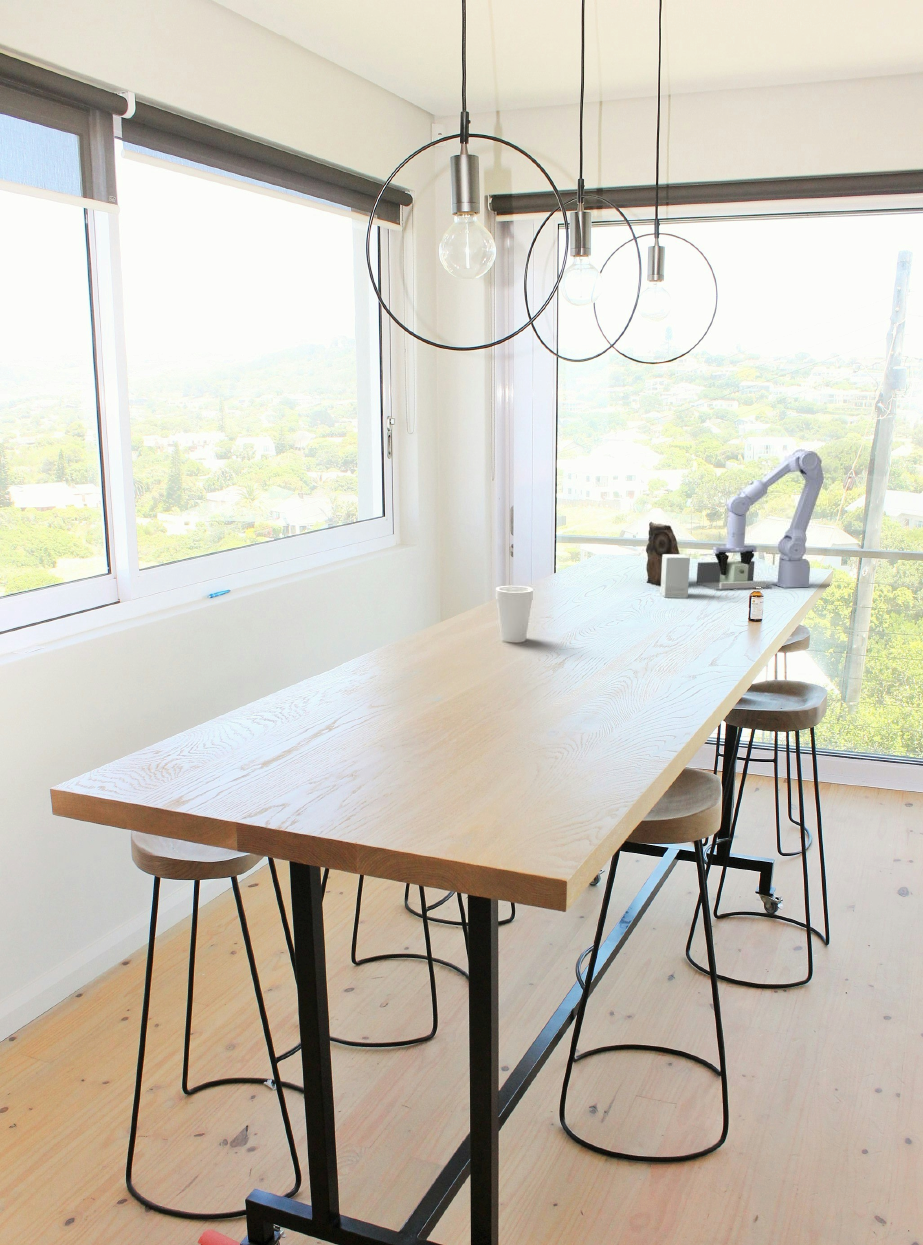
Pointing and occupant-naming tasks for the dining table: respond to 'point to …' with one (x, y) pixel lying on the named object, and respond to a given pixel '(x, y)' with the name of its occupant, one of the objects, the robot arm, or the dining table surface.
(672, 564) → the supplement box
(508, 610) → the foam cup
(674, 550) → the owl
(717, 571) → the grey piece
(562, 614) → the dining table surface
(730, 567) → the cabinet block
